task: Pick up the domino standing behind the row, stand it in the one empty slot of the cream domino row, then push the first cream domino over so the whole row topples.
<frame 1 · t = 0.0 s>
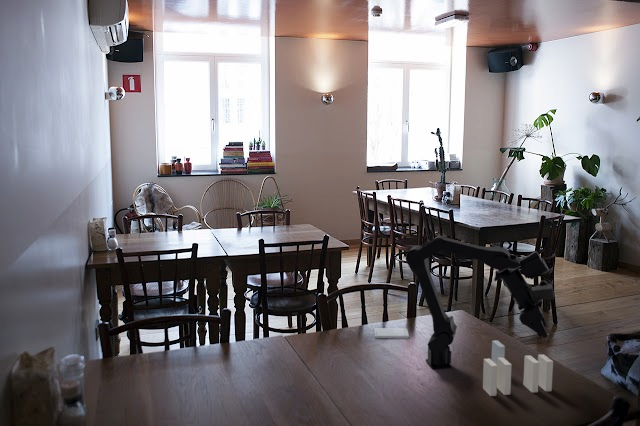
hand: (545, 331, 165), 15 cm above the table, tool tilted 35°, fingers open, 9 cm apart
domino 4: (530, 388, 162), on the table
domino 1: (489, 391, 160), on the table
domino 5: (543, 387, 162), on the table
hard drive: (391, 336, 205), on the table
domino 2: (503, 390, 161), on the table
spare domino: (497, 370, 173), on the table
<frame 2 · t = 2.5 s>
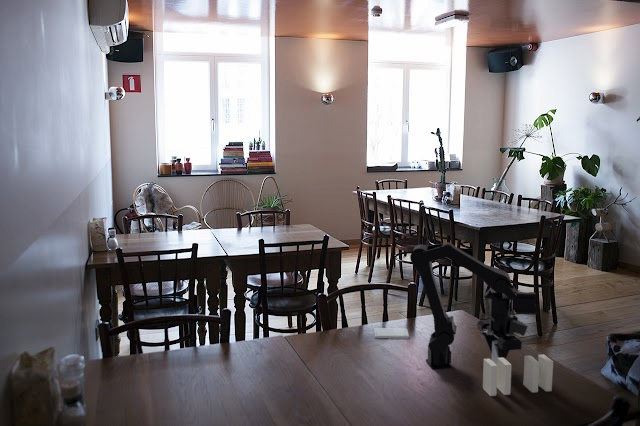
hand: (497, 360, 173), 3 cm above the table, tool pointing down, fingers closed on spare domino, 5 cm apart
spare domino: (497, 370, 173), on the table, touching gripper
everything else where it was.
when the fingers open (4 cm above the table, at t = 7.4 s): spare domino stays where it is, on the table.
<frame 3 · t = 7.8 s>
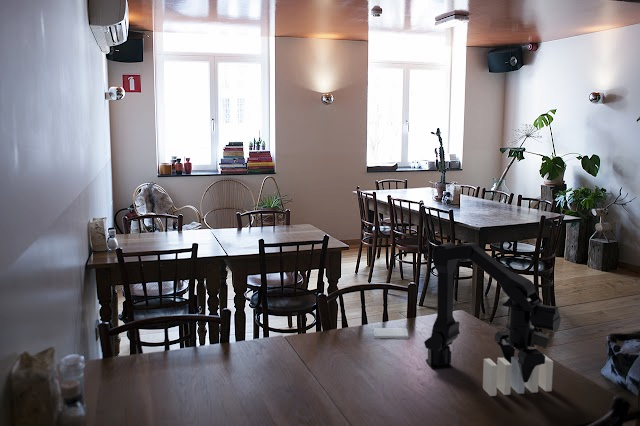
hand: (517, 375, 160), 4 cm above the table, tool pointing down, fingers open, 9 cm apart
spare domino: (517, 389, 161), on the table
everything else where it was.
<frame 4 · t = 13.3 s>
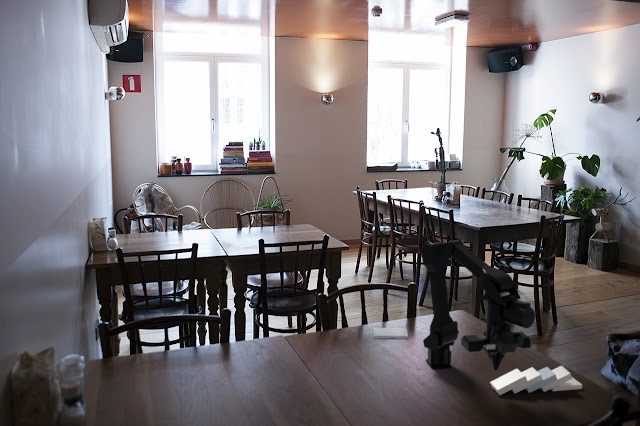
hand: (495, 369, 159), 6 cm above the table, tool pointing down, fingers closed
domino 4: (539, 385, 162), point 1 cm above the table, tilted 66°
domino 1: (494, 388, 160), point 1 cm above the table, tilted 66°, touching domino 2
domino 5: (548, 386, 162), on the table, tilted 90°
domino 2: (509, 387, 161), point 1 cm above the table, tilted 66°, touching domino 1, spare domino
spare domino: (524, 386, 161), point 1 cm above the table, tilted 66°, touching domino 2
everything else where it was.
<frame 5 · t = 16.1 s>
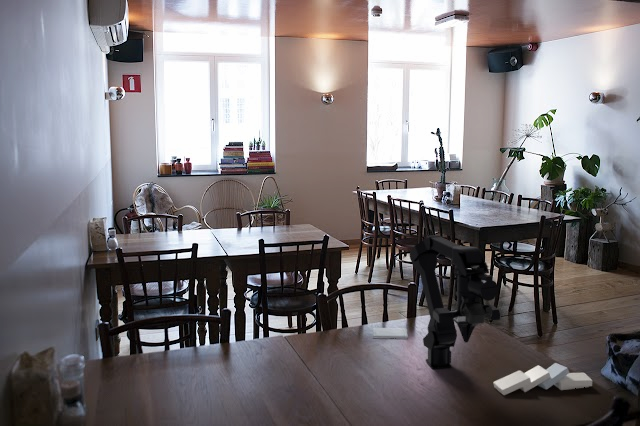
hand: (465, 342, 163), 13 cm above the table, tool pointing down, fingers closed
domino 4: (557, 379, 163), point 2 cm above the table, tilted 90°, touching domino 5
domino 1: (498, 388, 160), point 1 cm above the table, tilted 72°, touching domino 2
domino 5: (555, 385, 163), on the table, tilted 90°, touching domino 4
domino 2: (518, 385, 162), point 1 cm above the table, tilted 67°, touching domino 1, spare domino
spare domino: (539, 384, 162), point 1 cm above the table, tilted 66°, touching domino 2
everything else where it was.
at the end: domino 5 tilted 90°; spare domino inside the target area (1.6 cm from its centre), point 1.2 cm above the table; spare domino tilted 67° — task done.
